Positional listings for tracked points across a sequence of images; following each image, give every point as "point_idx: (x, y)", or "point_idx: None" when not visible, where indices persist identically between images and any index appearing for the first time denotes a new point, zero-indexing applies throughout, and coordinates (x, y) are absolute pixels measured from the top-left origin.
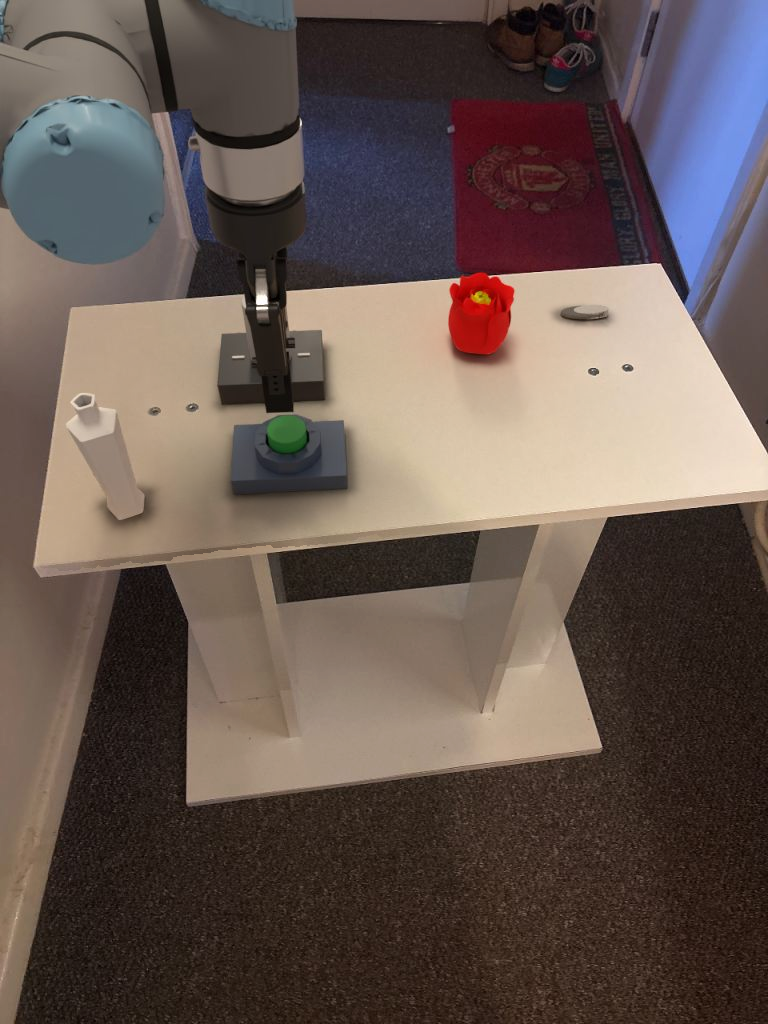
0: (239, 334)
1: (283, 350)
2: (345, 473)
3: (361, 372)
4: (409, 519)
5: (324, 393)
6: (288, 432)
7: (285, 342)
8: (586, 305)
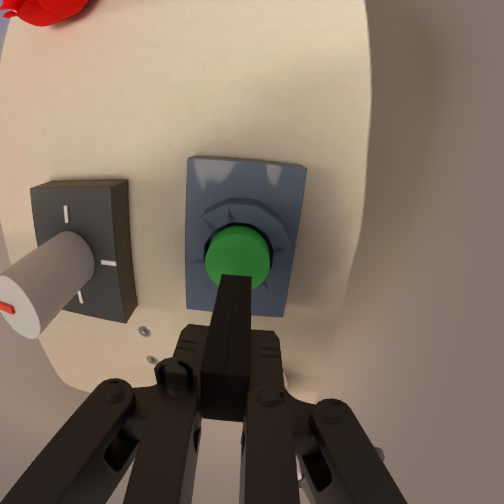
0: None
1: (399, 497)
2: (303, 169)
3: (85, 128)
4: (365, 99)
5: (122, 181)
6: (246, 262)
7: (195, 404)
8: None
